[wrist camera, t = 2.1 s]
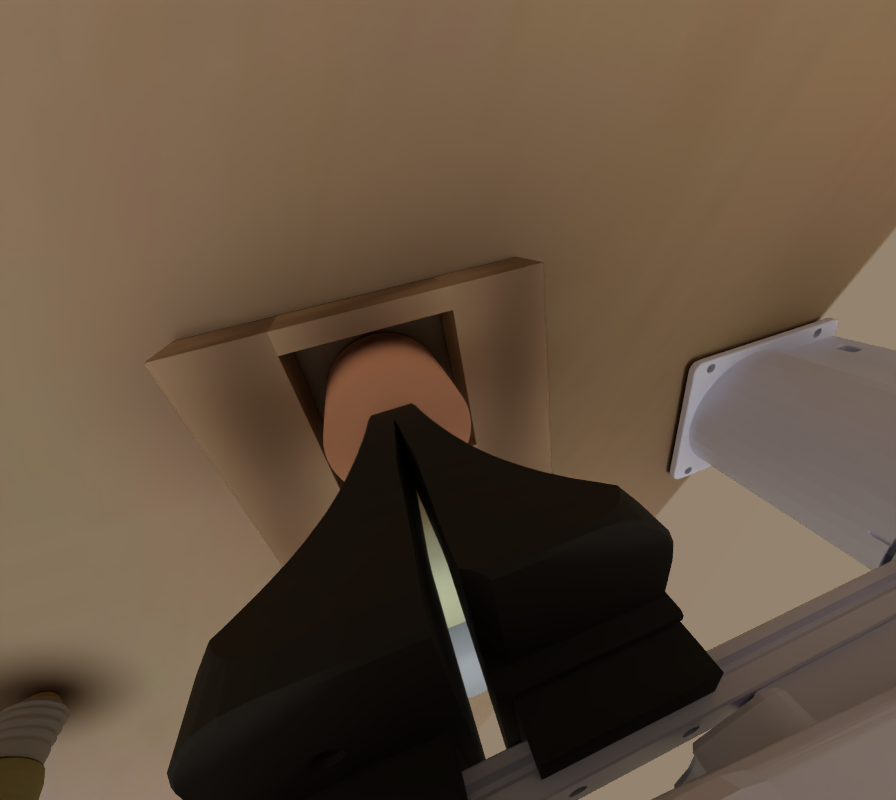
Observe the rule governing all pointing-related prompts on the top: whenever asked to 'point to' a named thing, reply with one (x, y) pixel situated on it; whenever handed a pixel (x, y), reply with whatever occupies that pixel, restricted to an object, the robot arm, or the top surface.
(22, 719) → the light bulb
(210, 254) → the top surface
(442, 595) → the sage button
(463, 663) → the grey rounded piece
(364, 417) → the orange rounded lump
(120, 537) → the top surface
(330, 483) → the wooden compartment tray
